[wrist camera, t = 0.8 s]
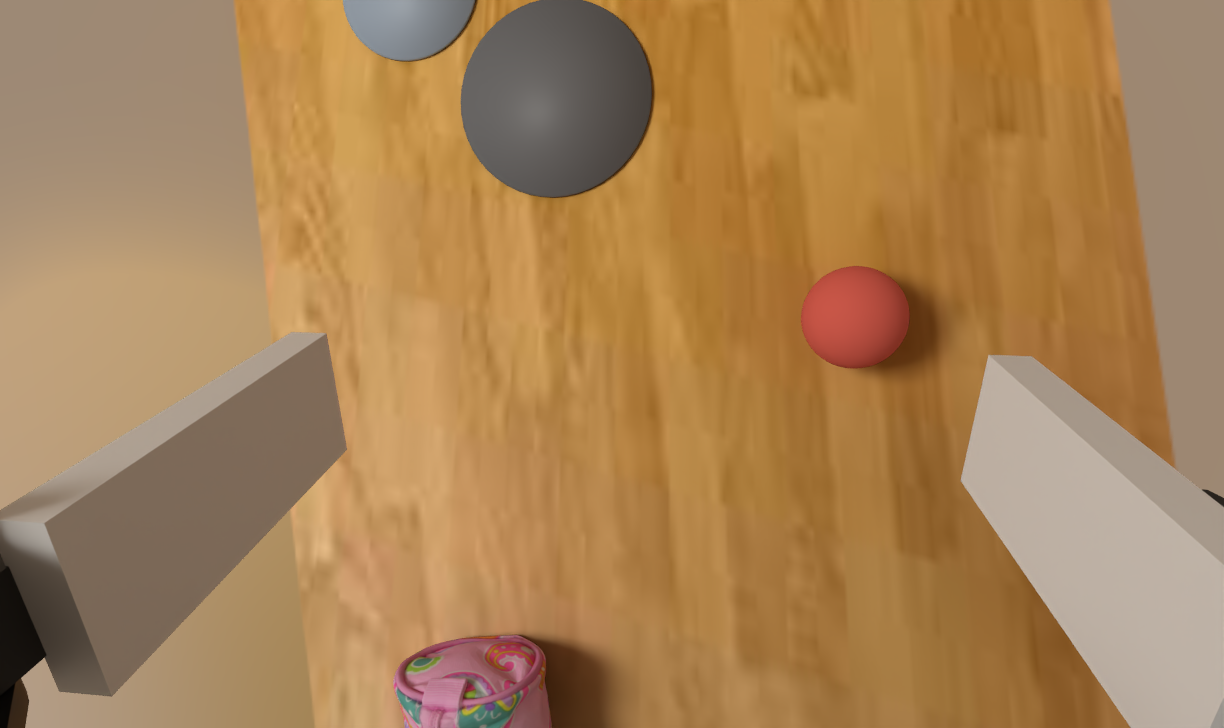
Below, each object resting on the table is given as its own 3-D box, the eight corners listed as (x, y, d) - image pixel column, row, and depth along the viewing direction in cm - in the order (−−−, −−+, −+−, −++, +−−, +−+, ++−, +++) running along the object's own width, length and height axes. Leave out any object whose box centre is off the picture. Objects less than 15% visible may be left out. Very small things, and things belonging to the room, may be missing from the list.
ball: (915, 310, 38) (947, 305, 33) (852, 385, 39) (873, 392, 34) (837, 252, 39) (856, 238, 34) (776, 327, 40) (785, 325, 34)
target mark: (692, 73, 40) (692, 72, 40) (571, 236, 41) (570, 236, 41) (538, -40, 41) (537, -42, 41) (425, 122, 43) (424, 121, 42)
